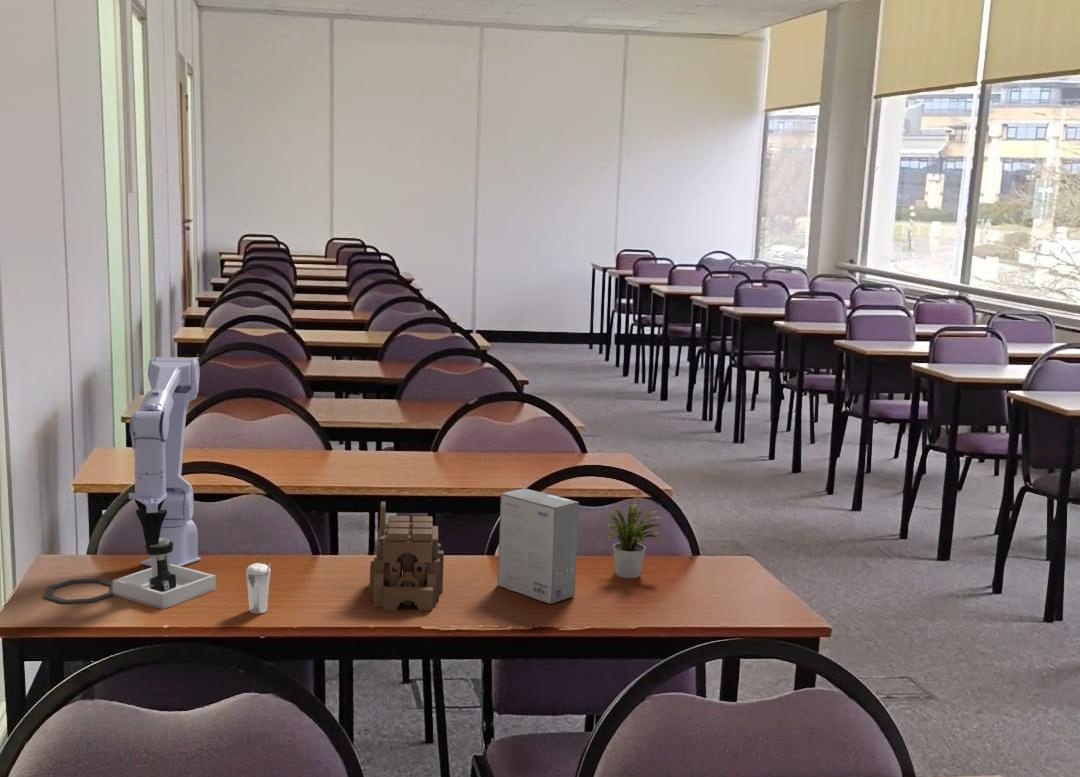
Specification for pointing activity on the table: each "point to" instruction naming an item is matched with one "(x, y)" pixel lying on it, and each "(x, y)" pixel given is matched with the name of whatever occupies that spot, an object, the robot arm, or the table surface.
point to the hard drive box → (538, 545)
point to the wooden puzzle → (407, 563)
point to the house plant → (630, 541)
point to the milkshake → (258, 587)
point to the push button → (161, 565)
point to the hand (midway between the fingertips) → (151, 538)
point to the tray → (186, 589)
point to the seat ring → (49, 596)
